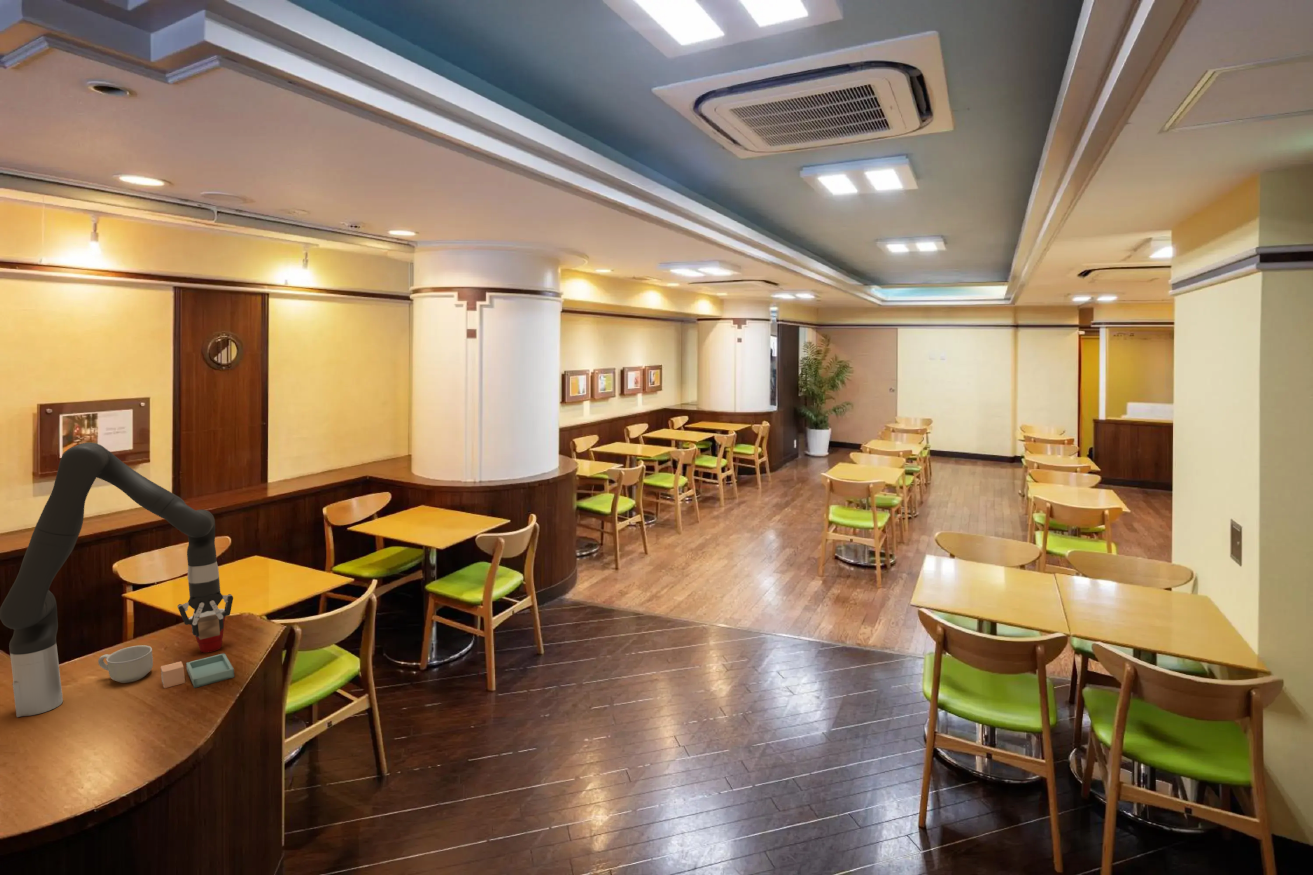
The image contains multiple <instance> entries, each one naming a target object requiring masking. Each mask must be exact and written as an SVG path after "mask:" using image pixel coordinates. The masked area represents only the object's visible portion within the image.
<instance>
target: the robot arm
mask: <svg viewBox="0 0 1313 875" xmlns="http://www.w3.org/2000/svg"><path fill="white" fill-rule="evenodd" d="M57 468H58V469H57V472H56V476H55V479H54V483H53V484H54V485H53V486H52V487H53V488H52V490H51V492H50V493H51V494H50V495H49V497H48V499H47V501H46V503H45V505H44V507H43V509H42V512H41V513H40V516H39V518H38V520H37V522H36V524H35V526H34V530H33V532H32V535H31V537H30V540H29V543H28V546H27V548H26V551H25V554H24V556H23V559H22V562H21V564H20V565H21V566H20V568H19V572H18V574H17V576H16V579H15V580H14V583H13V584H12V586H11V588H10V589H9V591H8V593H7V595H6V597H5V598H4V600H3V602H2V604H1V606H0V621H1V623H2V624H3V626H5V627H6V628H8V629H10V630H13V635H12V637H11V638H10V641H9V644H8V645H9V646H8V647H9V649H8V650H9V656H10V663H11V664H10V665H11V671H12V672H11V673H12V674H11V675H12V680H13V681H12V689H13V697H14V706H15V714H16V718H20V717H27V716H35V715H40V714H42V713H47V712H49V711H51V710H53V709H56V708H57V707H59V706H61V705H62V704H63V701H64V700H63V690H62V681H61V680H62V679H61V673H60V665H59V664H60V662H59V655H58V646H57V634H58V629H59V622H58V621H59V620H58V619H59V618H58V606H57V600H56V597H55V595H54V594H53V593H52V592H51V591H50V587H51V585H52V582H53V580H54V579H55V577H56V575H57V574H58V572H59V571H60V570H61V568H62V567H63V565H64V564H65V562H66V561H67V559H68V558H69V556H70V555H71V553H73V550H74V548H75V546H76V544H77V541H78V539H79V536H80V533H81V531H82V528H83V524H84V518H85V504H86V500H87V497H88V494H89V492H90V490H91V489H92V487H93V484H94V482H95V481H96V479H99V480H102V481H105V482H107V483H109V484H110V485H113V486H114V487H116V488H117V489H119V490H120V491H121V492H123V493H124V494H125V495H127V497H129V498H130V499H131V500H133V502H135V503H136V504H137V505H138V506H140V507H142V508H143V509H144V510H147V511H148V512H150V513H152V514H153V515H155V516H158V517H159V518H161V519H163V520H165V521H166V522H168V524H170V525H172V526H173V527H174V528H175V529H177V530H178V531H179V532H181V533H182V534H184V535H185V536H187V540H188V546H187V549H186V558H187V582H188V590H189V594H188V595H189V599H188V601H187V602H185V603H182V604H181V603H179V604H178V605H177V609H178V612H179V613H180V616H181V618H182V621H183V623H184V625H186V626H187V625H190V626H191V625H192V626H191V633H192V635H193V636H195V638H196V637H199V632H198V624H197V623H198V620H199V617H200V615H201V613H204V612H207V611H213V610H214V612H215V613H216V615H217V617H218V618H219V628H220V631H221V629H223V628H224V629H225V624H224V625H223V618H224V617H225V618H226V617H229V616H230V614H231V612H232V607H233V600H234V596H233V595H232V594H230V593H229V594H222V593H221V584H220V583H221V582H220V573H219V572H220V571H219V565H218V562H217V560H218V559H217V549H216V541H215V540H216V520H215V517H214V515H213V513H211V512H210V511H209V510H206V509H197V510H195V509H194V508H193V507H191V506H189V505H188V504H186V502H185V501H184V499H182V498H181V497H180V496H178V495H176V494H174V493H173V492H172V491H169V490H167V489H166V488H164V487H163V486H161V485H160V484H157V483H155V482H153V481H152V480H150V478H149V479H148V478H147V477H145V476H144V475H142V474H141V473H139V472H138V471H136V470H134V469H133V468H131V467H130V466H129V465H128V464H126V463H125V462H123V461H122V460H121V459H119V458H118V457H117V456H116V455H114V454H113V452H111V451H110V450H108V448H106V447H104V446H103V445H101V444H99V443H97V442H96V443H95V442H83V443H80V444H77V445H74V446H72V447H69V448H68V449H67V450H66V451H65V452H64V453H63V454H62V456H61V457H60V461H59V463H58V467H57ZM222 600H223V602H224V603H225V604H224V608H223V609H224V612H222V613H221V612H220V610H219V609H220V608H219V607H218V606H219V605H220V604H221V602H222ZM189 607H190V608H191V609H193V613H192V616H193V617H192V619H189V617H188V615H187V613H186V612H187V611H188V608H189Z"/></svg>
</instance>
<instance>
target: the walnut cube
mask: <svg viewBox="0 0 1313 875" xmlns="http://www.w3.org/2000/svg"><path fill="white" fill-rule="evenodd" d="M197 624H198V632H199V639H200V640H201V639H205V638H209V637H214V636H218V635H220V628H219V618H218V617H217V615H216V614H214V615H210V616H205V617H200V618H199V620H198V623H197Z"/></svg>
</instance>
